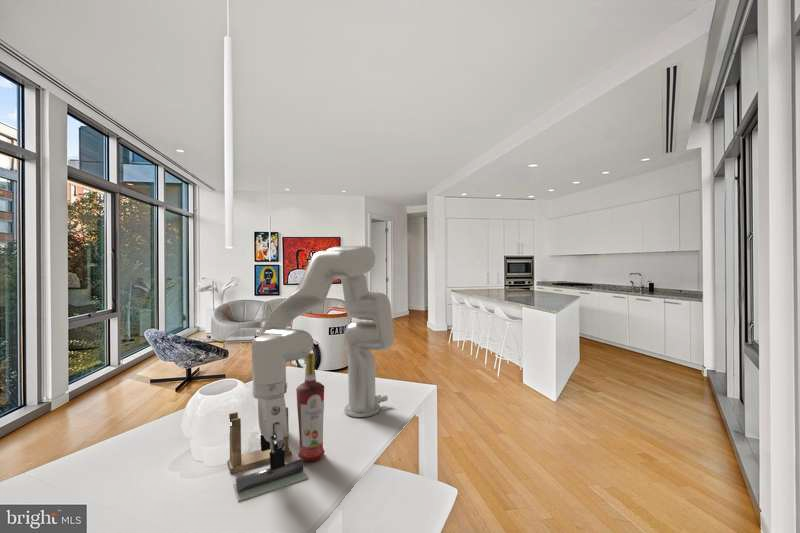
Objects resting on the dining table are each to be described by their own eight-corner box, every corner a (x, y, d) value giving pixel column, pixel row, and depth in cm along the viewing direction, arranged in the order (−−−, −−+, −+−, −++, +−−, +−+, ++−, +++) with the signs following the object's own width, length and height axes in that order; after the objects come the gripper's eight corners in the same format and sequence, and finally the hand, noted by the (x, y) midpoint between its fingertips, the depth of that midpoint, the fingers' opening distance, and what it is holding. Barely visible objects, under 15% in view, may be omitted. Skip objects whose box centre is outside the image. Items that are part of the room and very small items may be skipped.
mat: (298, 465, 94) (298, 464, 94) (307, 478, 88) (307, 477, 88) (233, 485, 85) (233, 484, 85) (238, 501, 80) (238, 500, 80)
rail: (300, 467, 92) (300, 456, 92) (303, 473, 90) (303, 462, 89) (235, 488, 84) (235, 476, 84) (237, 494, 81) (237, 482, 81)
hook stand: (285, 446, 104) (284, 401, 104) (291, 455, 99) (290, 408, 99) (227, 463, 96) (226, 413, 96) (230, 473, 91) (229, 421, 91)
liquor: (302, 468, 92) (300, 358, 92) (294, 456, 99) (292, 352, 99) (329, 459, 96) (327, 354, 96) (320, 448, 102) (318, 349, 103)
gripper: (296, 395, 82) (298, 470, 82) (277, 375, 96) (279, 439, 97) (261, 402, 78) (264, 481, 78) (246, 381, 92) (249, 447, 93)
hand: (272, 458), depth 87 cm, fingers open, 9 cm apart
